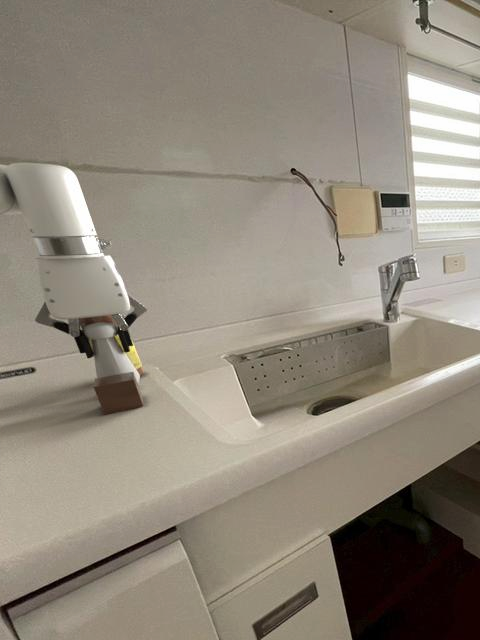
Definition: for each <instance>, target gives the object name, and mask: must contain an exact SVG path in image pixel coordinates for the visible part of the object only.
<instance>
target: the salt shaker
mask: <svg viewBox="0 0 480 640" xmlns="http://www.w3.org/2000/svg"><path fill="white" fill-rule="evenodd" d="M83 330H84V334H85V336H86V338H88V339H92V346H93V353H94V356H93V359H94V365H95V374H96V378H100V377H106V376H112V375H117V374H123V373H128V372H134V375H135V378H136V381H137V383H138V384H139V382H140V380H141V376H140V375H139V373H138V372H137V370H136V369H135V367H134V366H133V364H132V363H131V361H130V360H129V358H128V357H127V355H126V354H125V352H124V351H123V349H122V348H121V346H120V345H119V343H118V342H117V340H116V338H115V337H114V336H116V335H117V334H118V333H117V331H118V329H117V327H116V325H114V324H112V323H95V324H91V325H88V326H86V327H85V328H84V329H83Z"/></svg>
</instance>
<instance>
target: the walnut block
mask: <svg viewBox="0 0 480 640" xmlns="http://www.w3.org/2000/svg"><path fill="white" fill-rule="evenodd" d="M93 390H94V392H95V395H96V397H97V400H98V402H99V405H100V408H101V410H102V412H103V414H104V415H110V414H113V413H118V412H124V411H128V410H132V409H136V408H140V407H144V399H143V395H142V392H141V389H140V386H139V383H137V381H136V378H135V375H134V372H128V373H123V374H117V375H112V376H106V377H100V378H97V377H95V378H94V382H93Z"/></svg>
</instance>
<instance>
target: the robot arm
mask: <svg viewBox="0 0 480 640" xmlns="http://www.w3.org/2000/svg"><path fill="white" fill-rule="evenodd" d="M79 182H80V181H79V180H78V177H77V176H76V174H75V173H74V171H72V170H71V169H70V168H69V167H66V166H63V165H58V164H52V163H40V162H13V163H10V164H8V165H6V164H0V216H12V215H21V214H22V217H23V219H24V222H25V224H26V226H27V229H28V232H29V234H30V236H31V239H32V242H33V244H34V246H35V250H36V251H37V254H38V257H35V258H34V266H35V272H36V276H37V281H38V285H39V288H40V290H41V293H42V296H43V299H44V302H43V304H42V306H41V308H40V309H39V312H38V313H37V315H36V316H35V319H34V321H35V323H37V324H40V325H43V326H47V327H50V328H53V329H55V330H58V331H60V332H62V333H65V334H67V335H69V336H71V337H72V338H73V339H74V341H75V343H76V344H75V345H76V346H77V348H78V351H79V353H80V354H85V356H86V358H87V359H92V358H94V356H93V355H94V353H93V350H92V347H91V345H90V342H89V339H88V338H86V336H85V334H84V332H83V330H82V328H81V326H80V318H87V317H96V316H105V315H111V316H112V318H113V319H114V321H115V322H116V323H117V325H118V331H117V333H118V336H119V338H120V341H121V344H122V347H123V349H124V352H130V348H129V346H133V344H134V342H133V339H132V336H131V333H130V331H129V328H130V327H131V326H132V325H133V324H134V322H135V321H136V320H137V319H138V318H140V317H141V316H143V314H145V313H146V312H147V311H148V308H147V306H146V305H144V304H143V303H141V302H140V301H139V300H138V299H136V298H135V297H133V295H131V294H130V293H128V290H127V288H126V285H125V283H124V281H123V278H122V275H121V274H120V271H119V269H118V267H117V265H116V263H115V261H114V259H113V257H112V256H111V254H104V252H103V251H105V250H108V249H112V248H113V244H112V242H111V239H104V238H100V237H98V234H97V231H96V229H95V225H94V222H93V220H92V217H91V214H90V212H89V209H88V205H87V202H86V200H85V197H84V193H83V191H82V188H81V184H80V183H79ZM131 307H132V308H134V309H133V310H131ZM130 310H131V311H130ZM129 311H130V312H129ZM127 312H128V313H127ZM125 313H127V314H126V316H124V315H123V314H125ZM64 320H67V322H68V323H67V322H65V321H64ZM131 339H132V340H131ZM132 342H133V343H132Z"/></svg>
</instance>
